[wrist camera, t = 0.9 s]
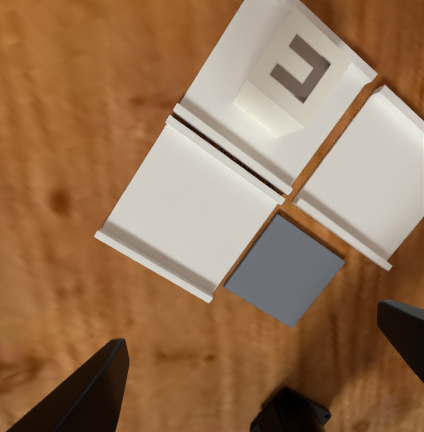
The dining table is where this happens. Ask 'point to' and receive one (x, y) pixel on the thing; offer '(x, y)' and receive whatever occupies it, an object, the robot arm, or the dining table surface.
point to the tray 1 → (233, 81)
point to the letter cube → (292, 76)
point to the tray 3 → (371, 179)
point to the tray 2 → (188, 211)
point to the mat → (283, 271)
